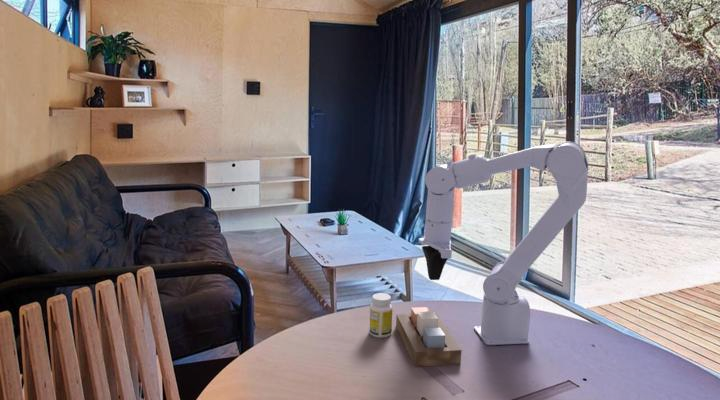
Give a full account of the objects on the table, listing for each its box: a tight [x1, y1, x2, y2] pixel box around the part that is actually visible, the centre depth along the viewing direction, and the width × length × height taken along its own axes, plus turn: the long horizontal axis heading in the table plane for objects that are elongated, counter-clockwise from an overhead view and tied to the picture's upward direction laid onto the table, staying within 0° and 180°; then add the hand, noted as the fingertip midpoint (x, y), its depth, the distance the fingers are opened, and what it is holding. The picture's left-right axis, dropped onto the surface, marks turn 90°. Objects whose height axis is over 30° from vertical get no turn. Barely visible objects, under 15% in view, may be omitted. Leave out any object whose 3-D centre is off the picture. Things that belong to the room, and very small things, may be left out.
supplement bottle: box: [369, 292, 393, 338], centre depth 111 cm, size 5×5×8 cm
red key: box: [410, 306, 430, 325], centre depth 112 cm, size 3×3×4 cm
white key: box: [417, 311, 438, 336], centre depth 107 cm, size 3×3×4 cm
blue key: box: [423, 328, 445, 348], centre depth 102 cm, size 3×3×4 cm
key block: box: [395, 312, 462, 368], centre depth 107 cm, size 9×17×3 cm, turn 9°
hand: (434, 278), depth 116 cm, fingers closed
